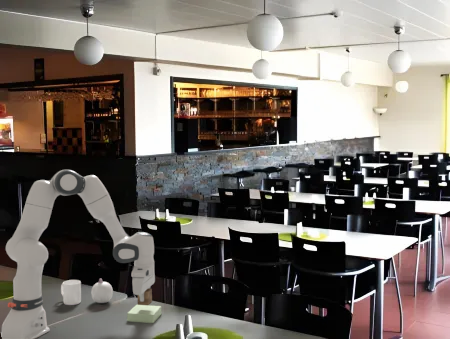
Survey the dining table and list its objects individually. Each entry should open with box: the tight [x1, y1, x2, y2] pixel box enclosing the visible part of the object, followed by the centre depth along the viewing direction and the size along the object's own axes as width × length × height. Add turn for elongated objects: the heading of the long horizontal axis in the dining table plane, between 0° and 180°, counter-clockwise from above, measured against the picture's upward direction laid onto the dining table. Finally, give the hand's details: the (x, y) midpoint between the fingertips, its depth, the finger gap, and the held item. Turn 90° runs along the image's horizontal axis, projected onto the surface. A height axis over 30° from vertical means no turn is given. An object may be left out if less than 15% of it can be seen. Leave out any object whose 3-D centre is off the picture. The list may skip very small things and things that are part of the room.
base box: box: [126, 304, 162, 324], centre depth 249 cm, size 12×12×4 cm
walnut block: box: [137, 288, 153, 305], centre depth 249 cm, size 5×5×6 cm
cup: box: [60, 279, 82, 306], centre depth 270 cm, size 8×12×10 cm
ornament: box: [90, 278, 114, 304], centre depth 269 cm, size 10×10×12 cm
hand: (144, 298), depth 249 cm, fingers closed on walnut block, 5 cm apart
